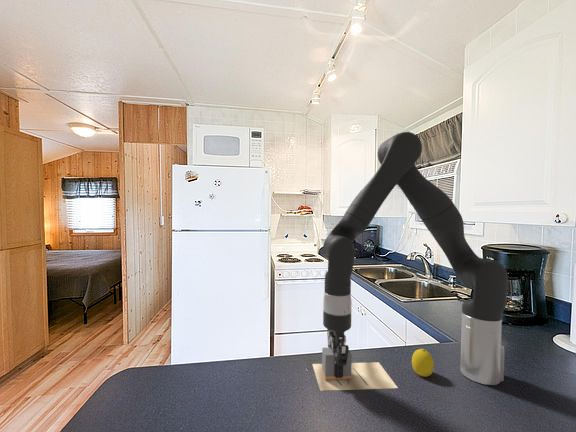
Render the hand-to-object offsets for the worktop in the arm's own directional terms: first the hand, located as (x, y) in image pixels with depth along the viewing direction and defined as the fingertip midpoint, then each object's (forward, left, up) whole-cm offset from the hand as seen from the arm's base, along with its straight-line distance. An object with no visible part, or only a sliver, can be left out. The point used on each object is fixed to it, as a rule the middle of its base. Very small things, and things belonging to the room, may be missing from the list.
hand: (336, 371), depth 74 cm
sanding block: (0, 0, -1) cm, 1 cm away
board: (-4, 0, -2) cm, 5 cm away
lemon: (-24, 0, -3) cm, 25 cm away
